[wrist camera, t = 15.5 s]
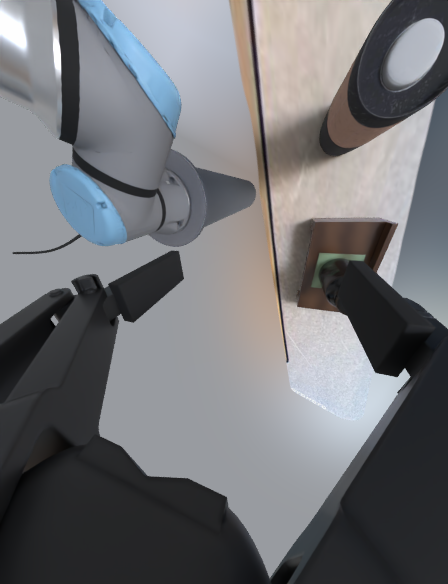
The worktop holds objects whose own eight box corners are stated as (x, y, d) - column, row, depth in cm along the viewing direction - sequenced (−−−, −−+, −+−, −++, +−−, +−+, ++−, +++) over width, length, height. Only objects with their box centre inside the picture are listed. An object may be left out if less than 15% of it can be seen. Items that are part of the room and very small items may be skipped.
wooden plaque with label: (296, 296, 47) (297, 311, 41) (312, 218, 36) (316, 223, 31) (346, 302, 43) (355, 319, 37) (379, 217, 33) (398, 223, 27)
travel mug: (308, 132, 30) (335, 63, 14) (355, 82, 26) (473, -102, 10) (332, 168, 32) (381, 145, 15) (380, 126, 27) (520, 32, 11)
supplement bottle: (363, 273, 34) (395, 307, 24) (331, 292, 38) (346, 328, 28) (341, 250, 33) (365, 275, 23) (310, 272, 37) (319, 301, 27)
